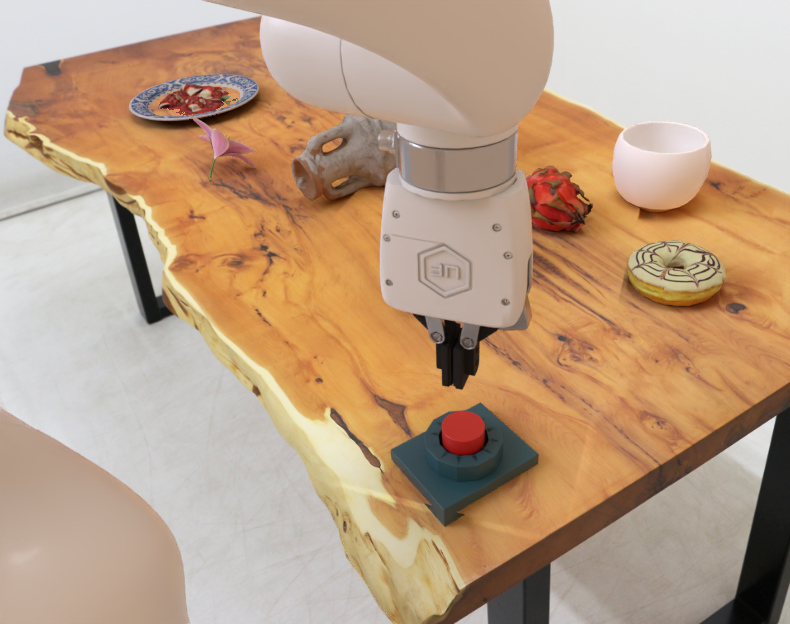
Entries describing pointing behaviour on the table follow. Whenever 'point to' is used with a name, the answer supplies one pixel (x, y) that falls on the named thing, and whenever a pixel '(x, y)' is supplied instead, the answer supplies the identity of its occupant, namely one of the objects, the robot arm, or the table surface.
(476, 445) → the button
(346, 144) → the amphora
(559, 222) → the dragon fruit
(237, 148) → the lily
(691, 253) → the decorated donut
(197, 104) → the ceramic plate
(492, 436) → the button box
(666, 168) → the cup
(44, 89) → the table surface
